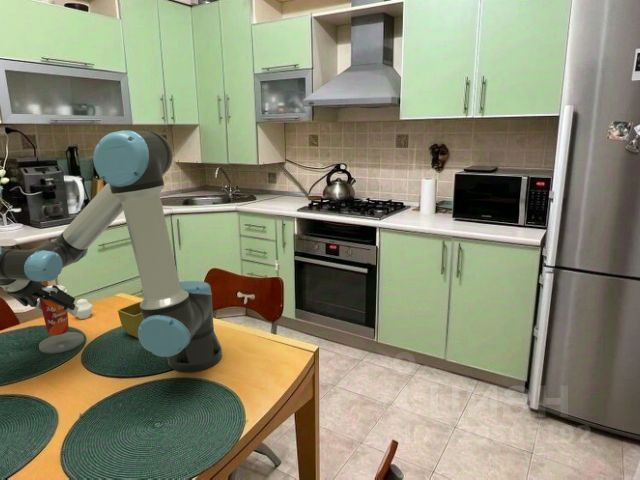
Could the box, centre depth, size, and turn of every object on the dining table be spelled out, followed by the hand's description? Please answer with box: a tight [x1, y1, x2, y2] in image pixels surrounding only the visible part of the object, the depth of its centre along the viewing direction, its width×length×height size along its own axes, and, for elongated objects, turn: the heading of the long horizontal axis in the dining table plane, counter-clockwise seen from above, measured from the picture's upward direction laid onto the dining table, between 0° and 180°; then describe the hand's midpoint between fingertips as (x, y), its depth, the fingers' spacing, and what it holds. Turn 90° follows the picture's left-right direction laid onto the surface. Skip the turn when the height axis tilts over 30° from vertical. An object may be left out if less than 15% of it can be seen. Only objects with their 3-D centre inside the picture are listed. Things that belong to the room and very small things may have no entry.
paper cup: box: [40, 284, 70, 336], centre depth 135 cm, size 8×8×14 cm
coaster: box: [38, 331, 84, 355], centre depth 138 cm, size 12×12×1 cm
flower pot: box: [117, 301, 143, 339], centre depth 143 cm, size 9×9×9 cm
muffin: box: [75, 298, 94, 320], centre depth 157 cm, size 6×6×7 cm
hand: (63, 311), depth 139 cm, fingers closed on paper cup, 8 cm apart
